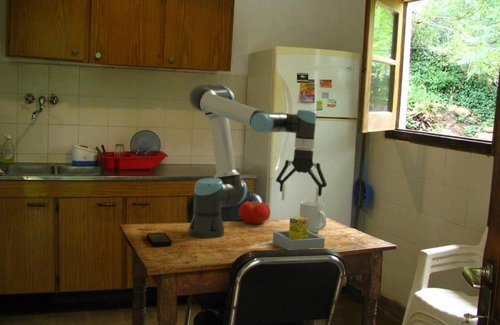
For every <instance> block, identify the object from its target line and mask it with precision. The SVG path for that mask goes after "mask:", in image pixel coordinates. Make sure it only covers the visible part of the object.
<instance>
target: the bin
mask: <svg viewBox="0 0 500 325" xmlns="http://www.w3.org/2000/svg"><path fill="white" fill-rule="evenodd" d="M325 242H326V241H325V237H322V236H320V235H318V234H317V233H312V232H309V231H308V237H307V239H297V240H292V239H290V238H289V230H276V231H273V232H272V243H273V244H274V245H277V246H278V247H280V248H282V249H283V250H285V249H309V248H324V249H325Z"/></svg>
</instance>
